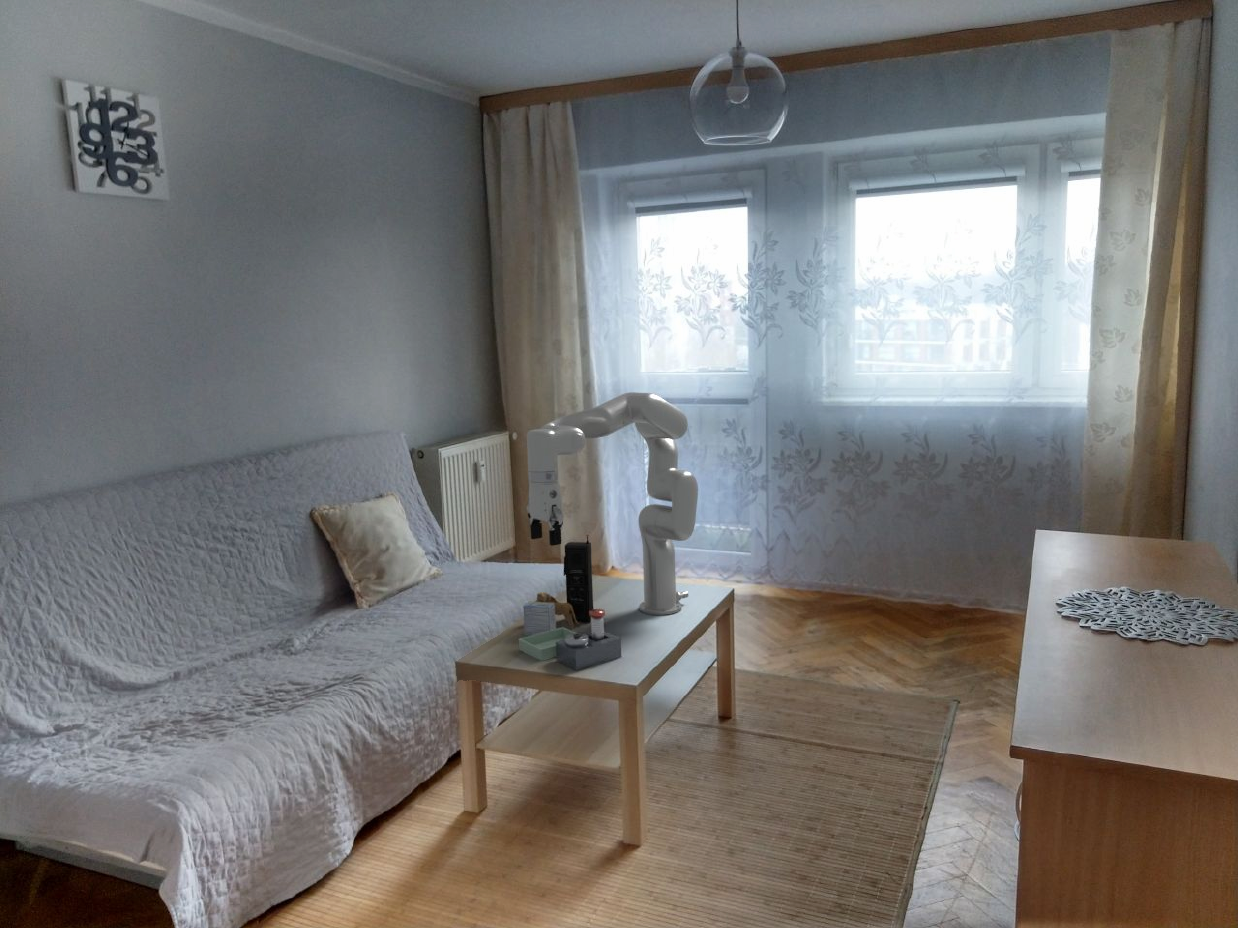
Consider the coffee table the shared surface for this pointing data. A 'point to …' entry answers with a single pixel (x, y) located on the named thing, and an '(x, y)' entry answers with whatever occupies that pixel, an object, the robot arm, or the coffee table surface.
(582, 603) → the portable radio
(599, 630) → the pin
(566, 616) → the lion figurine
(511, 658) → the coffee table surface
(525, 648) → the tray
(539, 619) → the medicine box
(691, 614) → the coffee table surface
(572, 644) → the block
